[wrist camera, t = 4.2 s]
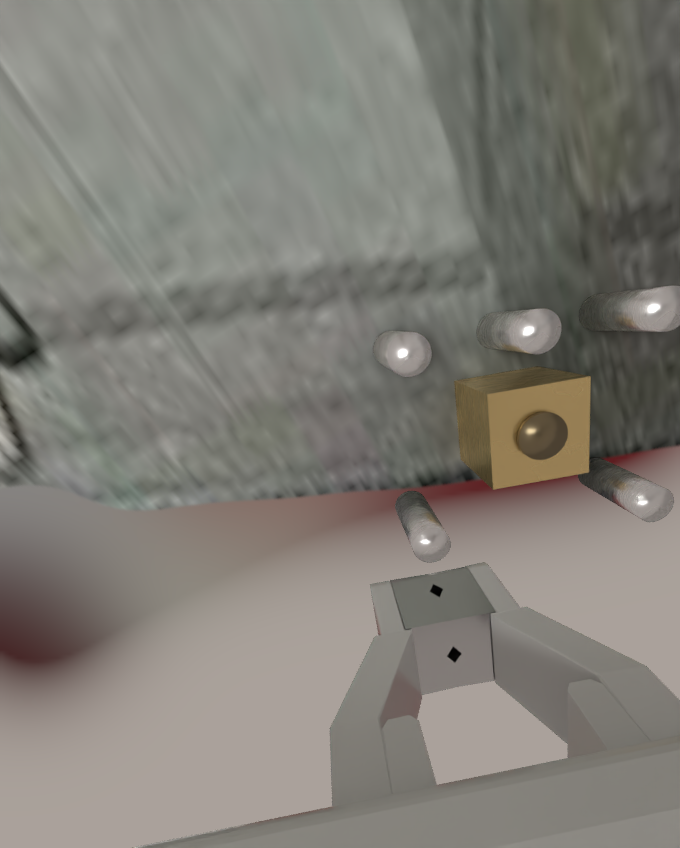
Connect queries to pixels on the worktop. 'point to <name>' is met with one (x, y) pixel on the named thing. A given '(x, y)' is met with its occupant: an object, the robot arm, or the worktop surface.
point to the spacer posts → (538, 336)
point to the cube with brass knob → (524, 425)
